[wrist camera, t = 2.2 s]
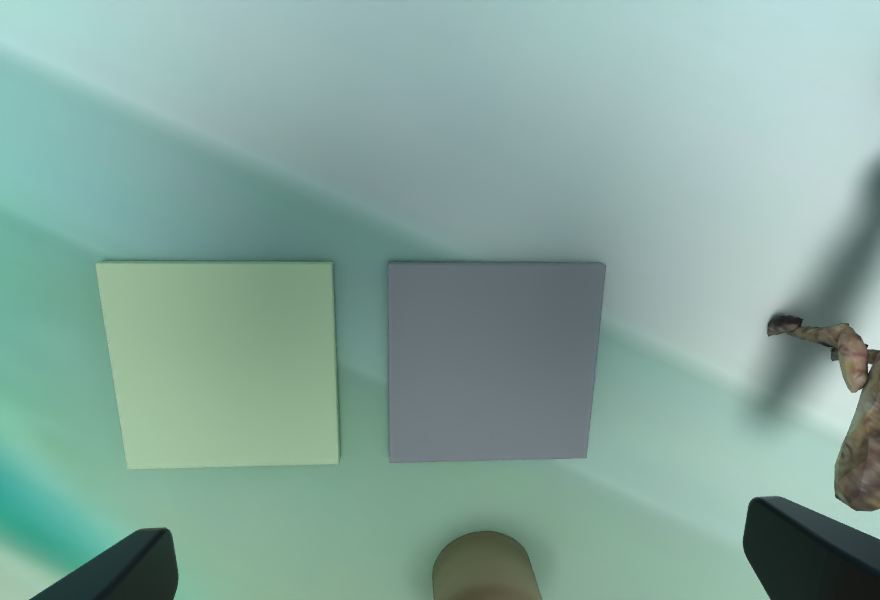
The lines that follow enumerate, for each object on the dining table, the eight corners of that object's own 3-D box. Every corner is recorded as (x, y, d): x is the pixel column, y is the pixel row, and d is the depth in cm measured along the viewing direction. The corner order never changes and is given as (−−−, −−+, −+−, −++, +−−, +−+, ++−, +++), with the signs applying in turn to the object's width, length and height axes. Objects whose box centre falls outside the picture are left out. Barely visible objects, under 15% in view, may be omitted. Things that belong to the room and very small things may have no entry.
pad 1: (340, 456, 21) (338, 463, 20) (134, 461, 20) (127, 469, 20) (332, 261, 19) (331, 264, 18) (103, 260, 18) (95, 263, 17)
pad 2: (582, 451, 21) (586, 457, 21) (390, 455, 21) (389, 462, 20) (600, 262, 19) (605, 265, 19) (388, 261, 19) (387, 264, 18)
